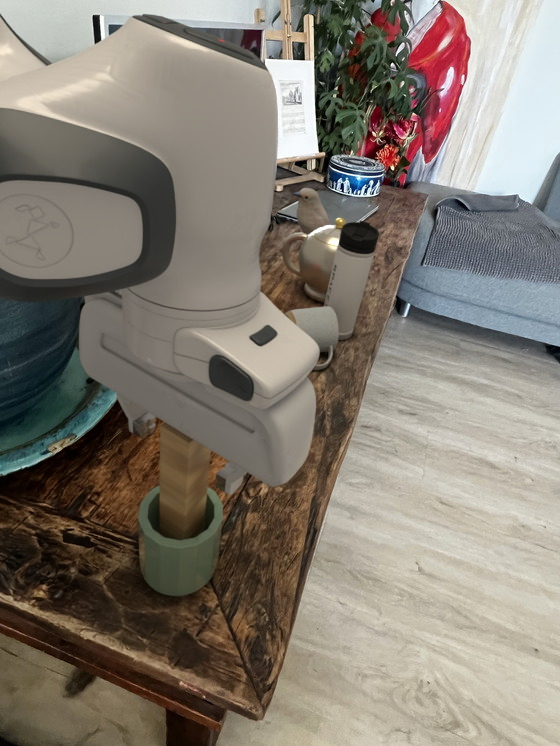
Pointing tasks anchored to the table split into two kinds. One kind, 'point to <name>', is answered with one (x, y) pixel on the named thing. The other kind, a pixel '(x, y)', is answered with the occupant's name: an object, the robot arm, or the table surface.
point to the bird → (310, 211)
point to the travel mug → (350, 273)
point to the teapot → (315, 258)
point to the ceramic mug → (318, 328)
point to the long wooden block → (182, 484)
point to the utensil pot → (178, 548)
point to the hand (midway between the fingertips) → (183, 458)
